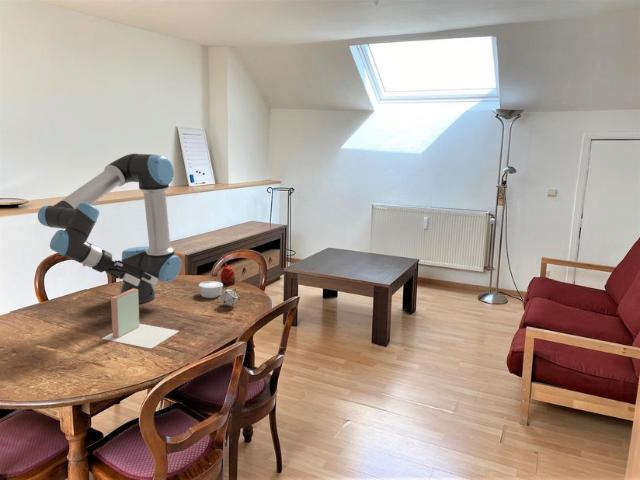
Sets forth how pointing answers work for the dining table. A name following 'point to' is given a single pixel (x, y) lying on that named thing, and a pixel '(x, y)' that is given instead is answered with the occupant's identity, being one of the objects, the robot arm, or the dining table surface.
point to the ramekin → (210, 289)
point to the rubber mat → (144, 336)
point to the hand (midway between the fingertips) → (147, 282)
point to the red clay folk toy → (227, 274)
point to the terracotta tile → (125, 312)
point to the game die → (229, 297)
